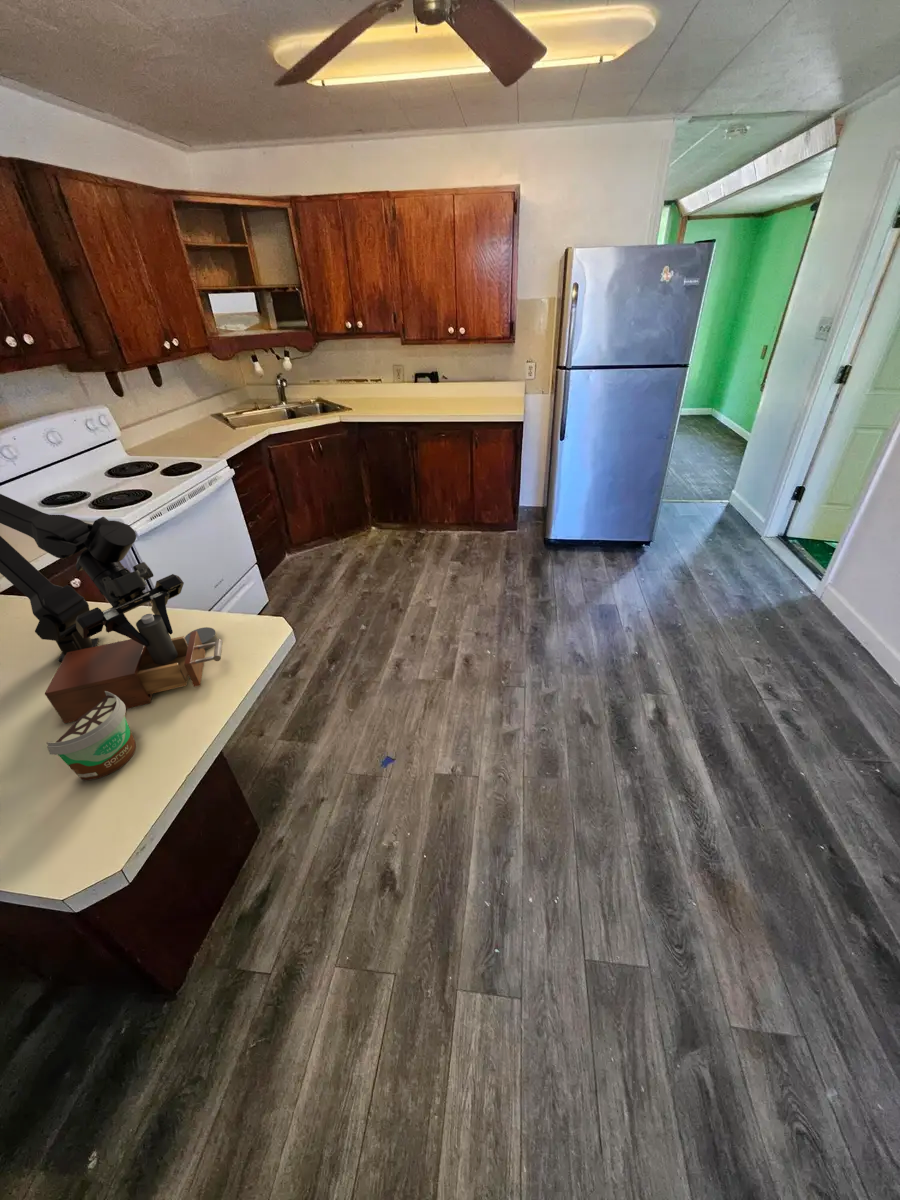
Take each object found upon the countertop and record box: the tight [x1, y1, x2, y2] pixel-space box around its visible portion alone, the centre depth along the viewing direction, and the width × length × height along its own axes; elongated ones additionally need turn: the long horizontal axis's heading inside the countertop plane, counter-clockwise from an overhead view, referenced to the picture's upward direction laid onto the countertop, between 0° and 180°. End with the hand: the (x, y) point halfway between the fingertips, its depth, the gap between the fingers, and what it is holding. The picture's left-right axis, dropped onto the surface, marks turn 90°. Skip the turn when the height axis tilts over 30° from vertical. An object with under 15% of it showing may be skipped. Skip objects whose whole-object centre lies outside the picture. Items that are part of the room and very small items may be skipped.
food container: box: [46, 691, 137, 781], centre depth 80 cm, size 12×6×10 cm, turn 168°
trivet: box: [184, 626, 219, 651], centre depth 109 cm, size 7×7×2 cm
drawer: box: [137, 630, 224, 694], centre depth 98 cm, size 18×11×6 cm, turn 109°
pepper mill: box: [135, 613, 178, 665], centre depth 94 cm, size 4×4×10 cm
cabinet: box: [44, 638, 154, 724], centre depth 95 cm, size 15×13×8 cm
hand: (159, 639), depth 93 cm, fingers closed on pepper mill, 4 cm apart
